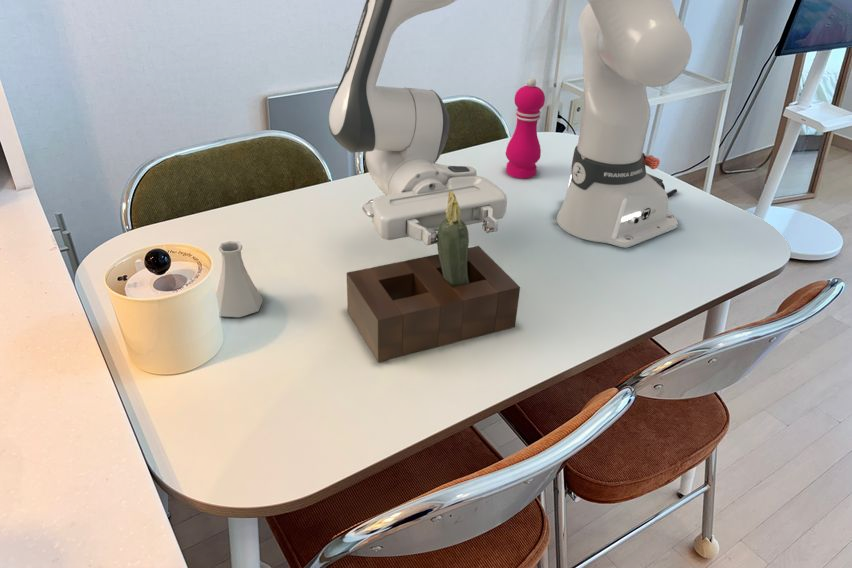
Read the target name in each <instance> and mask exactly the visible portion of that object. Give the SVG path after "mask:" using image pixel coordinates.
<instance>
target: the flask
mask: <svg viewBox="0 0 852 568" xmlns="http://www.w3.org/2000/svg"><path fill="white" fill-rule="evenodd" d="M242 250H243V244H241V243H240V241H236V240H235V241H233V240H230V241H225V242H221V243H220V245H219V247H218V251H219V252H220V253H221V259H222V260H221V261H222V262H221V273H220V278H219V282H218V286H217V289H216V293H217V298H218V303H219V308H220V316H219V317H225V318H226V317H227V318H242V317H245V316H248V315H251V314H254V313H257V312H259V310H260V309H261V306H262V304H263V301H264V300H263V297H262V296H261V294H260V292H259V291H258V289H257V287H256V285H255V284H254V283H253V280H252V278H251V276H250V275H249V272H248V271H247V269H246V267H245V263H244V261H243V257H242Z"/></svg>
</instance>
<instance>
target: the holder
mask: <svg viewBox="0 0 852 568" xmlns="http://www.w3.org/2000/svg"><path fill="white" fill-rule="evenodd" d="M467 274H468V279H469V284H464V285H460V286H456V287H452V286H451V285H450V284H449V283H448V282H447V281H446V279H445V278H444V277H443V272H442V267H441V263H440V259H439V255H438V253H437V254H431V255H427V256H422V257H416V258H411V259H406V260H402V261H401V260H400V261H397V262H392V263H388V264H387V263H386V264H382V265H377V266H373V267H367V268H362V269H357V270H352V271H348V272H346V298H347V299H346V300H347V303H346V304H347V314H348V315H349V317H350V319H351V320H352V322H353V323H354V325H355V327H356V328H357V330H358V331H359V333H360V335H361V337H362V339H363V340H364V341H365V343H366V345H367V347H368V348H369V350H370V351H371V353H372V355H373V357H374V358H375V360H376V362H377V363H380V362H384V361H388V360H392V359H396V358H401V357H404V356H408V355H412V354H416V353H420V352H424V351H428V350H431V349H436V348H441V347H444V346H447V345H451V344H455V343H460V342H463V341H466V340H469V339H474V338H479V337H482V336H486V335H490V334H494V333H498V332H501V331H502V332H503V331H505V330H506V331H507V330H509V329H514V328H516V323H517V316H518V308H519V299H520V291H521V286H520V285H519V284H518V283H517V282H516V281H515V280H514V279H513V278H512V277H511V276H510V275H509V274H508V273H507V272H505V270H504V269H503V268H502V267H501V266H500V265H499V264H497V262H496V261H495V260H494V259H493V258H492V257H491V256H489V255H488V253H487V252H486V251H485V250H484V249H483V248H481V247H480V245H474V246H471V247H468V254H467Z"/></svg>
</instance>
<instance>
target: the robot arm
mask: <svg viewBox="0 0 852 568" xmlns="http://www.w3.org/2000/svg"><path fill="white" fill-rule="evenodd" d="M457 1H458V0H365V3H364V5H363V8H362V12H361V15H360V19H359V21H358V25H357V28H356V31H355V35H354V38H353V41H352V44H351V48H350V50H349V51H350V52H349V55H348V58H347V61H346V64H345V68H344V71H343V74H342V76H341V79H340V81H339V84H338V86H337V88H336V90H335V92H334V95H333V97H332V99H331V103H330V105H329V106H330V107H329V111H328V112H329V113H328V129H329V132H330V135H331V136H332V137H333V138H334V140H335V141H336V142H337V143H338V144H339V145H340V146H341V147H342V148H344V150H346V151H348V152H349V153H365V156H364V157H365V165H366V168H367V171H368V173H369V175H370V177H371V179H372V181H373V182H374V184H375V185H376V187H378V189H379V191H381V192H382V193H383V194H384V195H380V196H377V197H375V198H372V199H369V200H368V201H367V203H364V204H363V205H362V211H363V213H364V214H365V215H366V216H367V217H368V218H371V221H372V224H373V227H374V229H375V231H376V233H377V234H378V236H379V237H380V238H381V239H384V240H386V241H392V240H398V239H403V238H411V239H413V240H414V239H415V240H418V241H421V242H422V243H424V244H425V246H430V245H435V244H436V245H437V233H438V228H439V226H440V224H441V222H442V221H443V220H444V219H446V218H447V216H446V209H447V204H448V200H449V199H448V198H449V192H448V191H452V192H453V193H454V195H455V197H456V199H457V202H458V205H459V207H460V210H461V217H460V218H459V219H460V220H462V221H463V222H464V223H465V225H466V226H470V225H475V224H476V225H477V224H480V223H482V227H481V230H483V231H484V232H485V233H486V234H490V233H491V234H492V233H496V232H498V226H499V223H498V220H502V219H504V217H505V215H506V212H507V204H508V198H507V197H508V196H507V194H506V193H505V192H504V191H503V190H502V189H501V188H500V187H498V186H497V185H496V184H495V183H493V182H492V181H490V180H489V179H488V178H486V177H483V176H480V175H477V170H476V168H474V167H473V166H468V165H467V166H465V165H446V164H440V163H437V161H438V160H439V159H440V157H441V155H442V153H443V151H444V149H445V147H446V144H447V142H448V139H449V134H450V126H451V121H450V120H451V119H450V115H449V113H448V110H447V107H446V105H445V103H444V101H443V100H442V98H441V96H440V95H439V94H438V93H437V92H435V90H433V89H427V88H426V89H425V88H418V87H417V88H416V87H415V88H414V87H395V86H382V85H377V82H378V78H379V75H380V73H381V70H382V67H383V63H384V61H385V58H386V54H387V51H388V47H389V44H390V41H391V40H392V36H393V35H394V33H395V31H396V30H397V29H398V28H399V27H400V26H401V25H403V23H405V22H406V21H408V20H409V19H411V18H414V17H416V16H418V15H421V14H424V13H428V12H431V11H434V10H438V9H442V8H444V7H446V6H449V5H451V4H453V3H455V2H457ZM587 1H588V3H587V4H586V5H585V7H584V8H583V9H582V12H581V14H580V16H579V20H578V33H579V38H580V42H581V46H582V47H581V48H582V74H583V75H582V76H583V77H582V78H583V108H582V114H581V121H580V122H581V123H580V128H579V135H578V140H577V141H578V142H577V145H576V146H575V147H574V150H573V156H572V161H571V173H570V178H569V182H568V187H567V190H566V194H565V197H564V199H563V203H562V205H561V207H560V209H559V211H558V214H557V215H556V222H557V225H558V226H559V227H560V228H561V229H562V230H563V231H565V232H566V233H567V234H569V235H571V236H574V237H576V238H578V239H582V240H585V241H589V242H594V243H595V242H596V243H604V244H609V245H613V246H615V247H618V248H623V249H625V248H626V249H627V248H630V247H633V246H635V245H639V244H641V243H644V242H646V241H648V240H650V239H653V238H657V237H658V236H660V235H663V234H665V233H668V232H671V231H673V230H675V229H677V228H678V226H679V225H678V224H679V223H678V220H677V218H676V216H675V215H673V214H672V213H671V212H670V210H668V209H669V208H668V207H669V198H670V197H671V196H672V195H674V194H676V193H678V190H677V188H673V189H672V190H671V191H669V192H666V187H665V184H664V183H663V179H662V178H660V177H657V176H654V175H652V174H649V173H647V169H646V168H647V167H648V168H650V169H651V170H656V169H658V167H659V166H660V164H661V160H660V159H659V158H657V157H655V156H654V155H652V154H649V155H646V154H645V153H644V152H643V151H644V147H645V143H646V138H647V133H648V129H649V125H650V120H651V106H650V102H649V97H648V92H647V87H648V88H659V87H663V86H666V85H668V84H671V83H673V82H674V81H676V80H677V79H678V78H679V77H680V76H681V75H682V73H683V72H684V71H685V70H686V68H687V66H688V64H689V62H690V60H691V55H692V50H693V44H692V39H691V36H690V34H689V32H688V31H687V29H686V28H685V26H684V24H683V23H682V22H681V20H680V18H679V16H678V14H677V12H676V9H675V7H674V4H673V2H672V0H587Z"/></svg>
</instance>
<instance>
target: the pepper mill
mask: <svg viewBox="0 0 852 568" xmlns="http://www.w3.org/2000/svg"><path fill="white" fill-rule="evenodd" d="M536 85H537V80H536V79H535V78H532V77H531V78H529V79H527V82H526V85H523V86H521V87H520V88H518V90H517V91H516V92H515V95H514V104H515V106H516V109H515V114H514V116H515V118H516V125H515V129H514V132H513V134H512V136H511V138H510V139H509V142H508V143H507V146H506V149H505V157H506V159H507V160H508V162H507V163H506V168H505V172H506V174H507V175H508V176H510V177H513V178H515V179H521V180H523V179H524V180H526V179H531V178H534V177H535V176H536V174H537V166H538V165H537V164H536V163H538V161H540V159H541V155H542V154H541V152H542V149H541V143H540V141H539V137H538V131H537V130H538V121H539V120H540V119H541V113H542V112H541V109H542V108H543V107H544V105H545V101H546V96H545V93H544V91H543V90H542V89H541V88H540V87H539V86H536Z"/></svg>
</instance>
